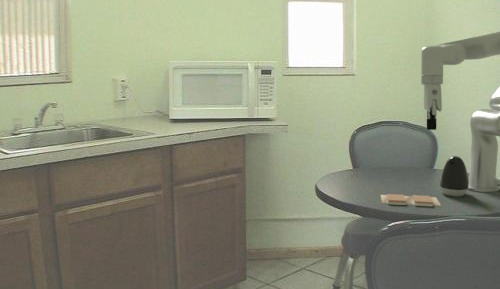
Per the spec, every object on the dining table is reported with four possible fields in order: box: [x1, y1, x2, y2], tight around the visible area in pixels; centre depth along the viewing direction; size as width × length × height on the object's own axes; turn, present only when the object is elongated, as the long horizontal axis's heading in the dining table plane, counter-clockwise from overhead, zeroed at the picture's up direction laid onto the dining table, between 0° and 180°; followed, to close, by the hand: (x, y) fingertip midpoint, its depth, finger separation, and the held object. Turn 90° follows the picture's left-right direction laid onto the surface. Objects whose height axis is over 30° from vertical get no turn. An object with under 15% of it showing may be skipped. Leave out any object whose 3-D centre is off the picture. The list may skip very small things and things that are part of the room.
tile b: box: [386, 193, 407, 206], centre depth 181 cm, size 6×2×8 cm
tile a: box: [411, 194, 434, 207], centre depth 179 cm, size 6×2×8 cm
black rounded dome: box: [438, 155, 469, 198], centre depth 190 cm, size 10×10×15 cm
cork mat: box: [380, 194, 442, 207], centre depth 183 cm, size 20×11×1 cm, turn 78°
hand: (431, 129), depth 188 cm, fingers closed
